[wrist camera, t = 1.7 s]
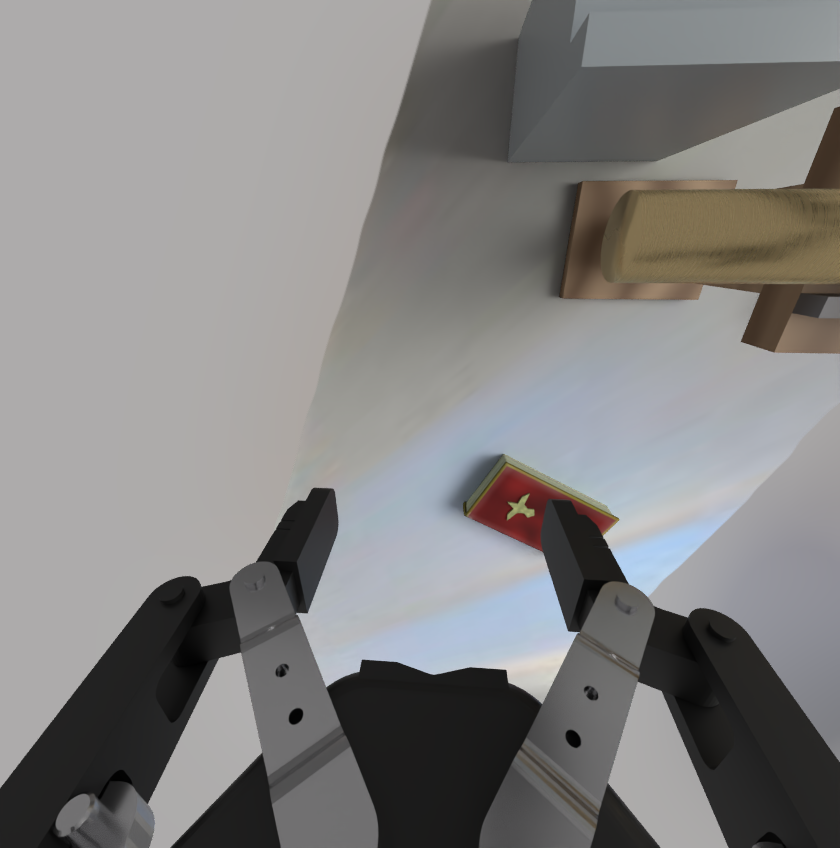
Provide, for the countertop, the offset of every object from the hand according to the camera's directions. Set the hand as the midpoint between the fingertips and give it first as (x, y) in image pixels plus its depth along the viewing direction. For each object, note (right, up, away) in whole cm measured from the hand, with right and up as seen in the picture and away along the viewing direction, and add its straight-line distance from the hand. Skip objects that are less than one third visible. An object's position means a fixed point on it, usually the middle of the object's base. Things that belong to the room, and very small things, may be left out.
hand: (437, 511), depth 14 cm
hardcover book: (+19, -10, +47) cm, 51 cm away
